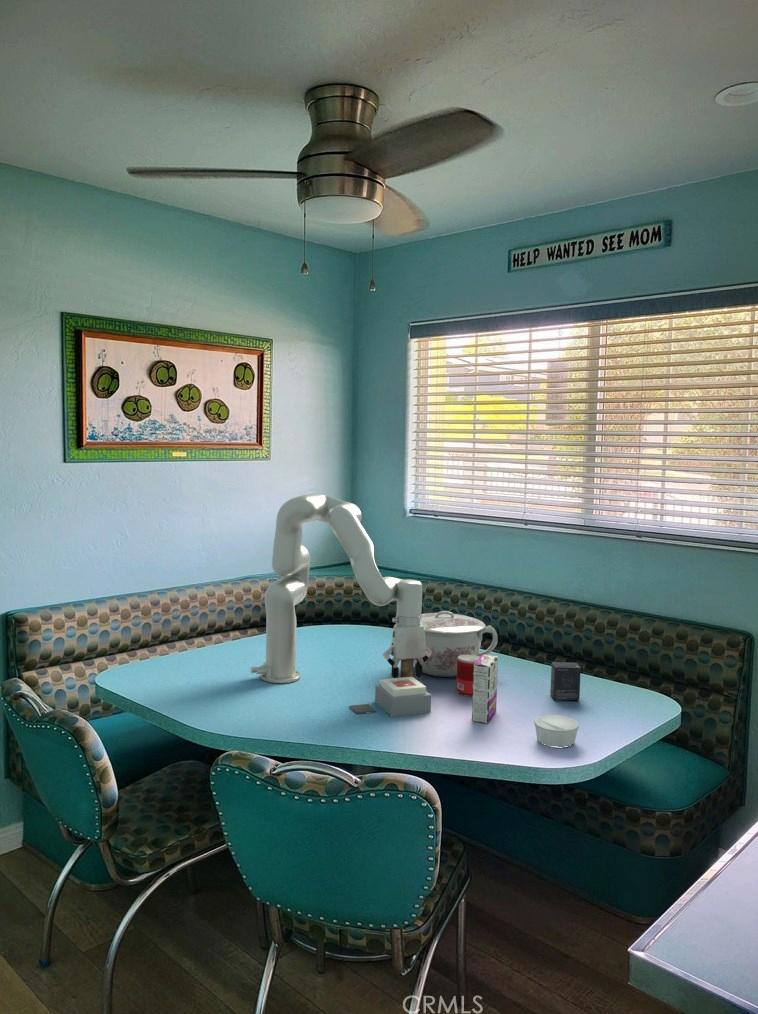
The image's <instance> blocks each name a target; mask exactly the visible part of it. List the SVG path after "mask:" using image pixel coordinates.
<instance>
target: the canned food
mask: <svg viewBox="0 0 758 1014" xmlns="http://www.w3.org/2000/svg"><path fill="white" fill-rule="evenodd" d="M479 658H480V656H477V655H469V654H465V655H460V656H458V659H457V676H456V687H455V688H456V690H455V691H456V692H457V693H458V694H459V695H461V696H464V695H466V697H473V666H474V664H475V663H476V661H477V660H478V659H479Z"/></svg>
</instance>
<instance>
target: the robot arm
mask: <svg viewBox="0 0 758 1014" xmlns="http://www.w3.org/2000/svg"><path fill="white" fill-rule="evenodd" d="M362 518H363V517H362V512H361V510H360V508H359V507H358V506H357V505H356V504H355V503H352V502H349V501H345V500H343V499H340V498H339V499H338V498H335V497H332V496H328V495H326V494H321V493H309V494H303V495H298V496H296V497H292V498H290V499H289V500H287V501H285V502H284V503H283V504H282V505H281V507H280V508H279V509H278V512H277V516H276V521H275V531H274V532H275V533H274V540H273V548H272V556H271V567H272V571H273V572H274V573H275V574H276V575H278V576H279V577H280V578H279V579H277V580H276V581H273V582H272V583H271V584H270V585H268V587H267V588H266V591H265V593H264V607H265V614H266V615H265V618H266V621H265V622H266V625H265V626H266V628H265V629H266V631H265V632H266V634H265V638H266V639H265V661H264V662H263V663H262V664H260V666H251V667H250V674H254V673H255V674H256V675H260V679H261V680H262V681H264V682H267V683H273V684H288V683H292V682H296V681H298V680H299V679H301V673H300V672H299V671H298V670H296V666H297V665H296V663H297V661H296V659H297V616H296V609H295V606H296V605H298V604H300V603H301V602H302V601H304V599H305V597H306V596H307V593H308V586H309V578H310V568H311V556H310V553H309V550H308V549H307V547H305V546H304V545H303V544H302V539H303V529H302V528H303V527H302V525H304V524H305V523H310V522H315V521H320V522H323V523H325V524H328V525H329V527H330V529H331V530H332V532H333V533H334V535H335V537H336V538H337V540H338V541H339V543H340V545H341V546H342V548H343V550H344V551H345V553H346V555H347V557H348V559H349V561H350V566H351V568H352V571H353V574H354V577H355V579H356V581H357V583H358V585H359V587H360V589H361V590H362V591H363V593H364V595H365V597H366V598H367V599H368V600H369V601H370V602H371V604H373V605H375V606H379V607H383V606H387V605H388V604H390V603H391V602H393V601H396V615H395V617H392V622H393V623H395V624H394V626H393V628H392V629H393V630H392V632H391V633H392V635H391V641H390V647H388V648H387V649H386V650H385V651H384V652H383V653H382V656H383V658H384V659H385V660H386V662H388V664H390V666H391V678H400V673H399V672H400V668H399V667H398V665H399V664H400V663H401V660H406V659H416V661H417V663H416V664H414V676H415V677H416V678H418V679H421V678H422V675H423V672H422V665H424V662H425V661H426V660H427V659H428V657H429V656H430V655H431V654H432V651H431V650H430V649H429V648H428V647H427V646H426V641H425V631H424V626H423V625H422V624H421V614H422V610H423V609H422V605H423V604H422V603H423V584H422V582H421V581H419V580H416V579H403V578H398V577H393V576H382V573H381V572H380V570H379V568H378V567H377V564H376V562H375V558H374V557H375V556H374V551H375V549H374V543H373V541H372V540H371V538H370V536H369V535H368V534H367V533H368V532H366V530H365V528H364V527H363V525H362V524H361V522H362V520H363V519H362ZM390 655H391V656H392V658H391V657H390Z"/></svg>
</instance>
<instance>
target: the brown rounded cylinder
mask: <svg viewBox="0 0 758 1014" xmlns="http://www.w3.org/2000/svg"><path fill="white" fill-rule="evenodd" d="M399 672H400V673H399V678H402V677H413V678H414V673H415V664H414V659H406V660H400V668H399Z"/></svg>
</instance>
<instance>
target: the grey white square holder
mask: <svg viewBox="0 0 758 1014" xmlns="http://www.w3.org/2000/svg"><path fill="white" fill-rule="evenodd" d="M398 681H406V682H410V683H411V686H404V687H397V686H396V685H395V682H398ZM374 686H375V690H374V691H375V692H374V694H375V695H374V702H375V701H376V702H377V703H378V706H380V707H381V708H382V709H383V710H384V711H385V710H386V711H387V712H386V711H385V712H386V713H388V714H389V715H390V716H391V715H392V716H391V717H397V716H396V715H399V716H405V715H404V714H408V715H414V714H415V713H418V714H424V713H425V714H426V713H432V711H431V709H432V694H431V693H429V692H428V691H427V686H426V685H424V684H423V683H422V682H421V681H419V680H417V679H416V678H415V677H414V676H413V677H402V678H400V677H399V678H393V677H391V678H383V679H380V684H375V685H374ZM376 702H375V703H376ZM415 715H416V714H415Z"/></svg>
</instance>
